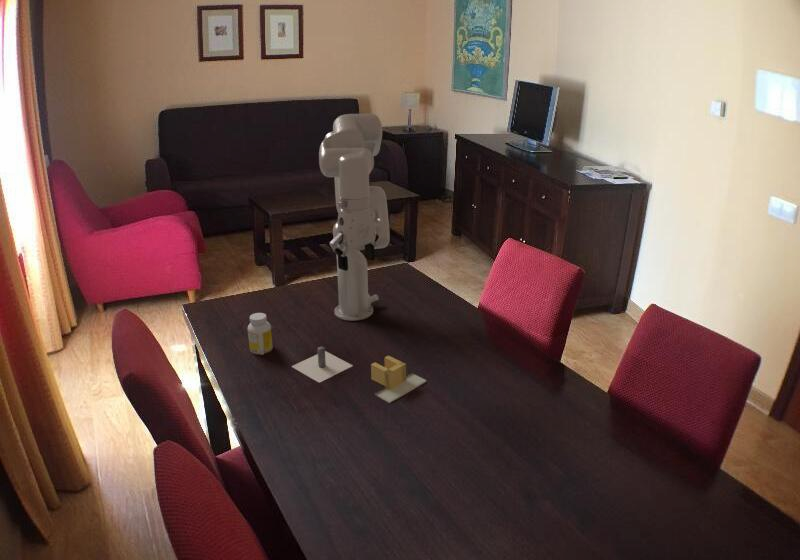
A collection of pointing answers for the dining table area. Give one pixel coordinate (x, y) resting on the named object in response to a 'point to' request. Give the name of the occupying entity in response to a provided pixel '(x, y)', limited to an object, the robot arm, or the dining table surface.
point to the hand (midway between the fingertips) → (356, 264)
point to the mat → (400, 388)
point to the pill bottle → (259, 334)
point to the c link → (389, 372)
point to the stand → (322, 366)
